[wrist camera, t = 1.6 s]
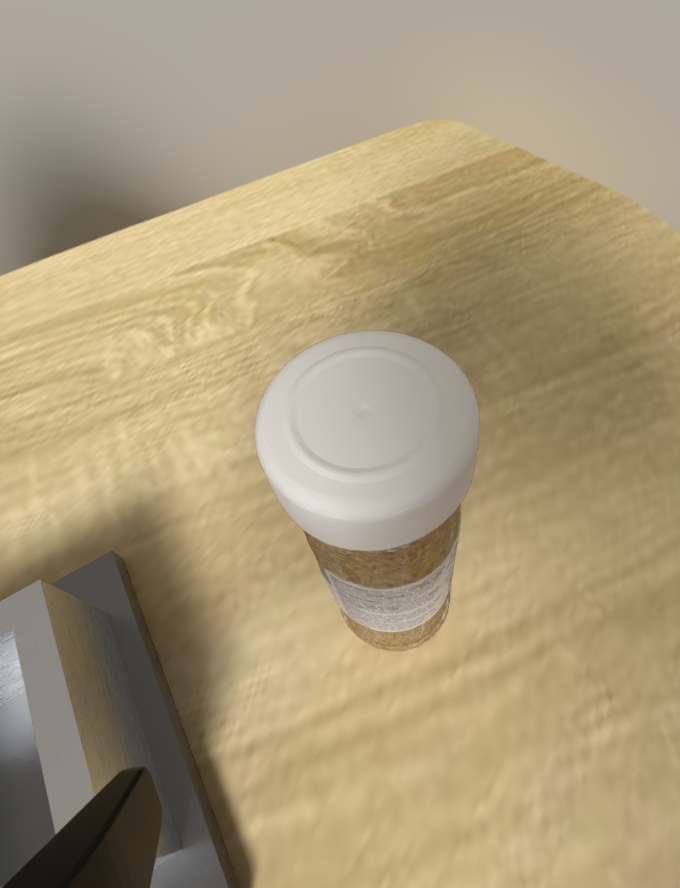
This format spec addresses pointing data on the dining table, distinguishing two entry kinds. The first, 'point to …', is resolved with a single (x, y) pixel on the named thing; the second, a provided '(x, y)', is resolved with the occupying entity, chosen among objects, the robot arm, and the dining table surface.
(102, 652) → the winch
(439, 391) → the sprinkles bottle
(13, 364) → the dining table surface
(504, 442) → the dining table surface
